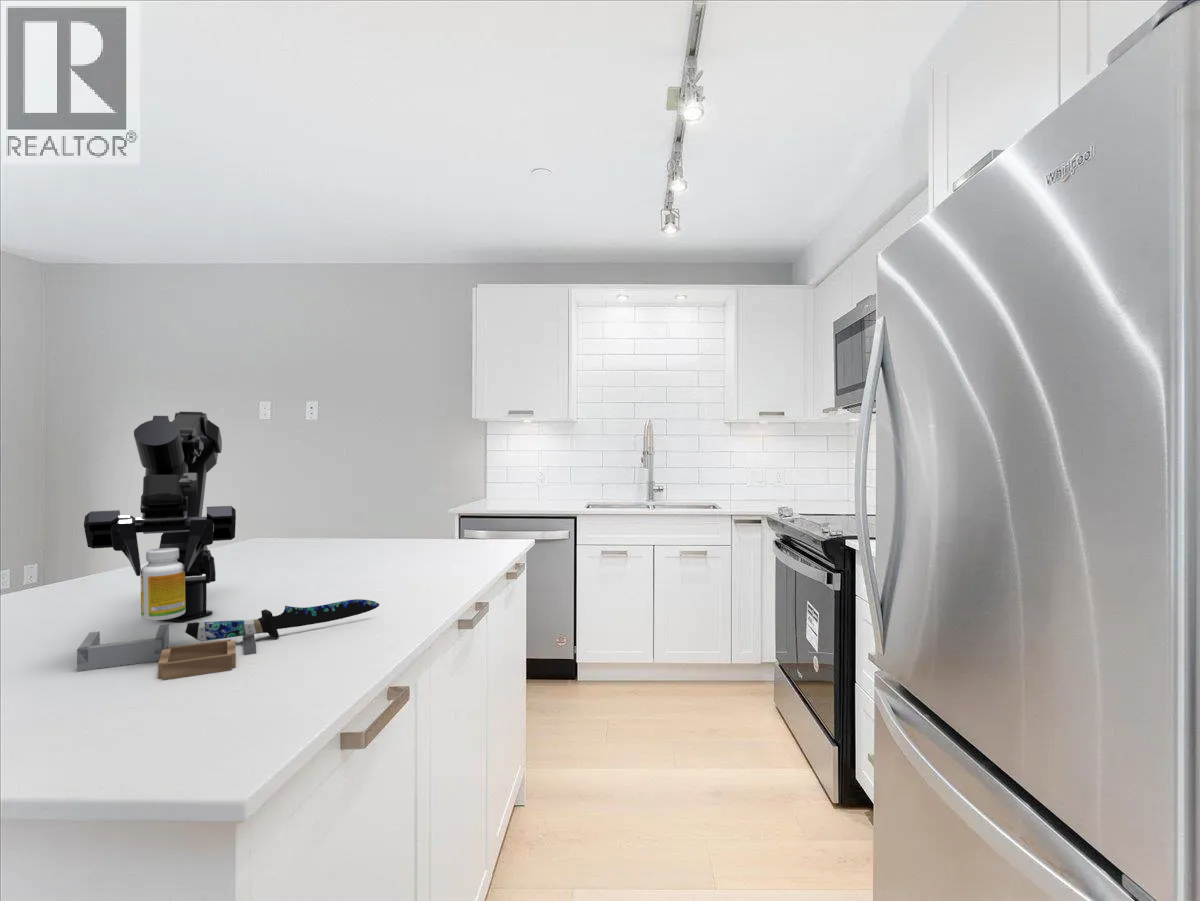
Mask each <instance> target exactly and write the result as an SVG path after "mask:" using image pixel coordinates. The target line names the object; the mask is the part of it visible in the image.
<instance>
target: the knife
mask: <svg viewBox="0 0 1200 901" xmlns="http://www.w3.org/2000/svg"><path fill="white" fill-rule="evenodd" d="M379 606H380V603H379V602H376V601H374V600H370V599H358V598H357V599H356V598H354V599H347V600H341V601H338V602H332V603H327V604H321V605H315V606H307V607H301V606H300V607H299V606H298V607H297V606H289V605H285V606H284V610H283V611H282V613H280V614H278V615H273V613H272V611H270V610H268V609H266V608H265V609H263V610H261V611H260V613H261V617H258V618H256V619H255V618H254V619H241V620H240V619H239V620H238V619H237V620H219V621H218V620H216V621H214V620H213V621H197V622H196V621H195V622H188V623H187V625H186V629H185V631H184V633H186V634H187V635H189V636H190V637H192V638H194V639H195V640H197V641H199V642H200V643H203V642H210V641H217V640H222V639H223V640H224V639H229V638H237V637H243V636H244V635H252V634H254V635H259V634H268V636H269V637H271V638H272V639H274V638H275V639H274V640H277V639H278V638H280V634H279V631H278V630H281V629H282V630H284V629H288V628H290V629H291V628H298V627H299V628H300V627H304V626H309V625H311V626H312V625H315V624H316V625H317V624H322V623H329V622H332V621H337V620H342V619H345V618H350V617H354V616H357V615H361V614H364V613H368V612H371V611H372V610H375V609H377V608H378V607H379Z"/></svg>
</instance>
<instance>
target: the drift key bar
mask: <svg viewBox="0 0 1200 901" xmlns="http://www.w3.org/2000/svg"><path fill="white" fill-rule="evenodd" d="M242 648H243V655H244V654H246V655H252V654H251V653H253V654H257V644H256V639H255V634H252V635H244V636H242Z"/></svg>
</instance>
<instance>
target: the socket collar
mask: <svg viewBox="0 0 1200 901" xmlns="http://www.w3.org/2000/svg"><path fill="white" fill-rule="evenodd" d="M236 654H237V652H236V640H232V639H229V638H228V639H223V640H222V639H220V640H212V641H205V642H197V643H190V644H184V645H175V646H168V647H167V649H164V650H162V653H161V656H160V659H159V661H158V665H157V666H158V667H157V672H158V674H157V679H161V680H162V681H163V680H164V681H165V680H166V681H167V680H173V679H177V678H179V679H180V678H184V677H191V676H199V674H200V675H204V674H205V675H206V673H207V674H211V673H212V672H213V673H218V672H219V671H220V672H226V671H225V670H227V671H232V670H233V668H236V663H237V662H236V659H237V657H236V656H237V655H236ZM213 673H212V674H213Z"/></svg>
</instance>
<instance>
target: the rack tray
mask: <svg viewBox="0 0 1200 901" xmlns="http://www.w3.org/2000/svg"><path fill="white" fill-rule="evenodd" d="M157 629H158V630H157V632H156V634H155V636H154V637H152V638H145V639H136V640H135V639H134V640H126V641H119V642H110V643H109V642H108V643H103V644H102V643H101V642H100V640H101V639H100V638H101V636H100V634H101V632H100V631H99V630H98V631H91V632H90V631H89V633H88V634H87V636H86V637H85V638H84V640H83V641H82V643H80V645H79V646H78V648H77V649H76V672H77V671H78V672H83V671H82V670H85V671H91V670H90V669H93V670H98V669H97V668H100V669H106V668H105V667H108V668H113V667H112V666H115V667H120V665H123V666H128V665H127V664H130V665H135V664H137V663H138V664H143V663H151V662H157V661H158V662H159V659H160V656H161V653H162V650H164V649H167V647H169V645H170V644H169V643H170V623H164V624H162V623H161V624H159V626H158V628H157Z"/></svg>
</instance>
